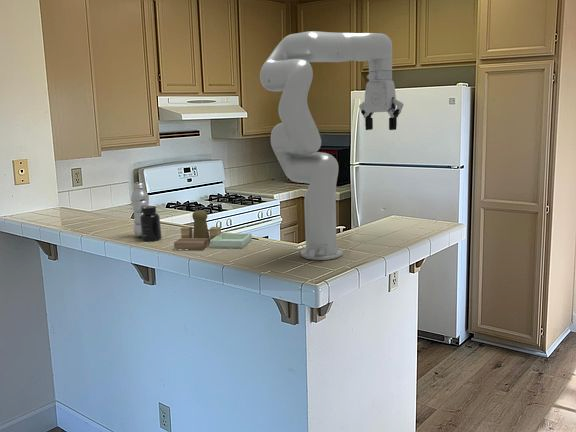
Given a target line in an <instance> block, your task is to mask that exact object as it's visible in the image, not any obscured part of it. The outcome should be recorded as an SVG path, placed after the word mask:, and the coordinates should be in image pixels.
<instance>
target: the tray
mask: <svg viewBox="0 0 576 432" xmlns="http://www.w3.org/2000/svg"><path fill="white" fill-rule="evenodd" d="M252 237H253V236H252V233H241V232H240V233H239V232H238V233H237V232H235V233H233V232H230V233H229V232H228V233H227V232H226V233H225V232H223V233H222V232H221V234H220V235H219V236H216V237H215V238H213V239H212V240H210V242H209V246H210V247H209V248H210V249H244V248H246V246H247V245H248V244H250V243H251V242H252V241H253V239H252Z"/></svg>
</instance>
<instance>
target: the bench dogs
mask: <svg viewBox="0 0 576 432" xmlns="http://www.w3.org/2000/svg"><path fill="white" fill-rule="evenodd" d="M221 228H222V227H221V226H212V227H210V228H209V237H210V240H212V239H213V238H215V237H216V236H219V235H220V234H221V233H222V231H221V230H222V229H221ZM193 233H194V232H193V226H182V227H181V228H180V238H193Z"/></svg>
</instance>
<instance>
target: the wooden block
mask: <svg viewBox="0 0 576 432" xmlns="http://www.w3.org/2000/svg"><path fill="white" fill-rule="evenodd" d="M173 245H174V247H173V248H174V250H175V249H188V250H187V251H204V250H206V249H208V247H209V246H210V242H209V238H181V237H180V238H179V239H177V240H176V241H174V242H173ZM205 248H206V249H205Z"/></svg>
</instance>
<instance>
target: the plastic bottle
mask: <svg viewBox="0 0 576 432" xmlns="http://www.w3.org/2000/svg"><path fill="white" fill-rule="evenodd" d="M133 189H134V190H133V192H132V193H131V196H130V201H131V204H132V209H133V216H134V219H133V220H134V223H133V232H134V235H135V236H136V237H140V238H142V231H141V222H140V217H141V215H143V213H142V207H146V206H150V205H149V203H150V196H149V194H148V192H147V190H145V183H144V182H134V183H133Z"/></svg>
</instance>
